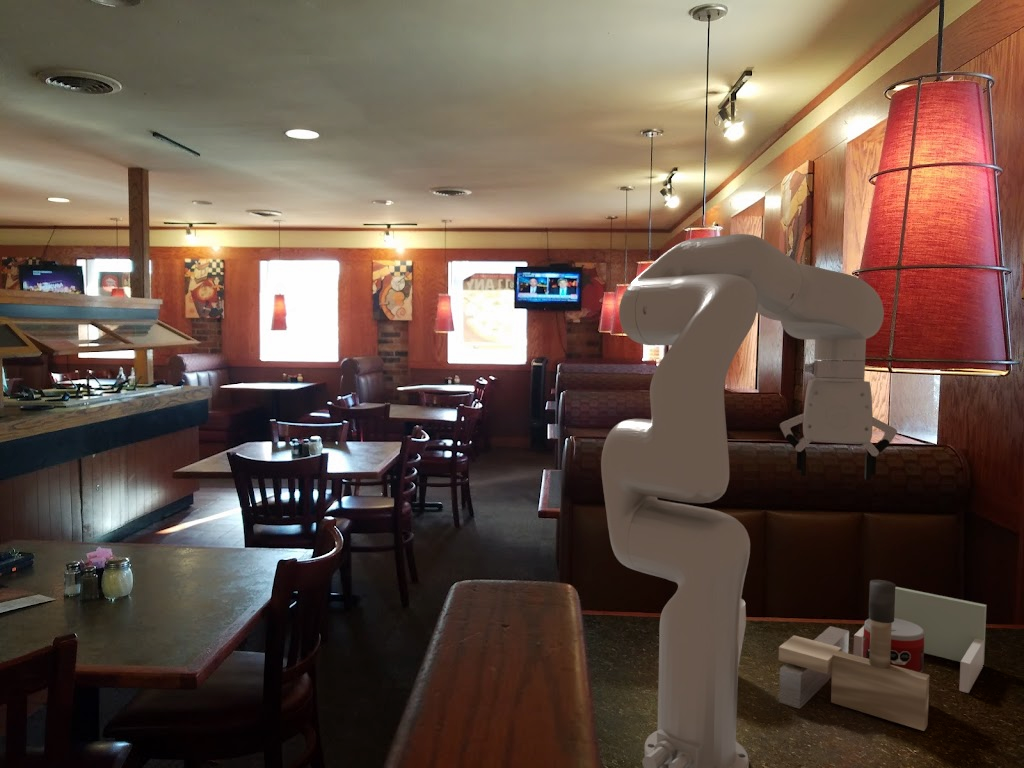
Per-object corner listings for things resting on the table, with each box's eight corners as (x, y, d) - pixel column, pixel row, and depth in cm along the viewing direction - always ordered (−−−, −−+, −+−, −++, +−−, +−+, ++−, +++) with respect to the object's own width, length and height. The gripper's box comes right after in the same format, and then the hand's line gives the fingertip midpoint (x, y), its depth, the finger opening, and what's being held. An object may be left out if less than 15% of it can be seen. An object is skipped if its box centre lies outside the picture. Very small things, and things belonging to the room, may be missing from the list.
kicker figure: (920, 737, 98) (926, 598, 97) (777, 691, 110) (781, 568, 109) (930, 719, 103) (936, 587, 102) (792, 678, 115) (796, 560, 114)
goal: (968, 693, 112) (971, 627, 111) (853, 661, 122) (855, 602, 122) (983, 665, 122) (986, 604, 121) (875, 638, 132) (877, 583, 132)
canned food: (849, 693, 111) (852, 621, 111) (887, 683, 115) (889, 613, 114) (895, 716, 104) (898, 640, 104) (933, 705, 108) (936, 631, 107)
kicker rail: (799, 708, 106) (800, 674, 106) (778, 702, 108) (780, 668, 108) (847, 660, 123) (849, 630, 123) (829, 655, 125) (830, 626, 125)
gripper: (781, 371, 120) (777, 476, 120) (902, 374, 113) (897, 485, 114) (782, 370, 127) (778, 470, 127) (896, 373, 120) (891, 478, 121)
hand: (834, 477), depth 121 cm, fingers open, 9 cm apart
